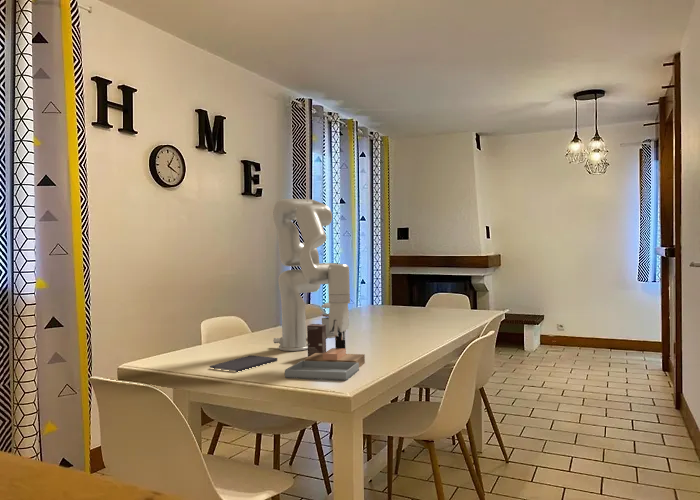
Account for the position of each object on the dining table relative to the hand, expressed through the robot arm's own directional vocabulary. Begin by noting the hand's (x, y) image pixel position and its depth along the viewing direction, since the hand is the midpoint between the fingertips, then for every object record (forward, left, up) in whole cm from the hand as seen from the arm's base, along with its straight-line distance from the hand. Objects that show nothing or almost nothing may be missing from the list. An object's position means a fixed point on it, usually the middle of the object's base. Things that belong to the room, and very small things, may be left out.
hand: (340, 351), depth 199 cm
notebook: (-32, -11, -5) cm, 34 cm away
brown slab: (0, -6, -4) cm, 7 cm away
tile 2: (0, -4, -1) cm, 4 cm away
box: (-11, +6, -4) cm, 13 cm away
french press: (-21, +54, -4) cm, 58 cm away
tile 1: (0, -9, -1) cm, 9 cm away
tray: (0, -19, -4) cm, 20 cm away
